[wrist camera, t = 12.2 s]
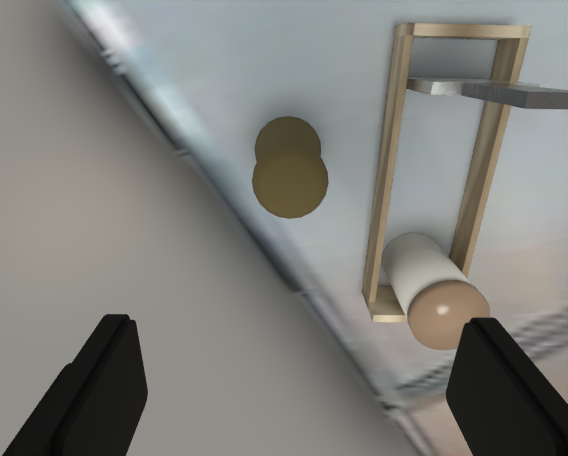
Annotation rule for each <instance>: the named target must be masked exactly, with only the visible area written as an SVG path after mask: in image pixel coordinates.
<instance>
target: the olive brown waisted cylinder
mask: <svg viewBox="0 0 568 456" xmlns="http://www.w3.org/2000/svg"><path fill="white" fill-rule="evenodd" d="M255 155H256V161H257V164H256V166H255V168H254V172H253V178H252V184H253V190H254V193H255V195H256V197H257V199H258V201H259V203H260V204H261V205H262V206H263V207H264V208H265V209H266V210H267V211H268V212H270V213H272V214H274V215H276V216H278V217H282V218H288V219H291V218H299V217H302V216H304V215H307V214H309V213H311V212H312V211H313V210H314V209H316V208H317V207H318V206H319V205H320V203H321V202H322V200H323V198H324V197H325V195H326V191H327V187H328V172H327V169H326V167H325V165H324V162H323V160H322V158H321V157H320V155H321V146H320V140H319V138H318V135H317V133H316V131H315V130H314V129H313V128H312V127H311V126H310V124H308V123H307V122H305V121H303V120H301V119H300V118H295V117H289V116H288V117H281V118H277V119H275V120H273V121H271V122H269V123H268V124H267V125H266V126H265V127H264V128H263V129H262V130H261V131H260V133H259V135H258V137H257V139H256V144H255Z"/></svg>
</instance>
